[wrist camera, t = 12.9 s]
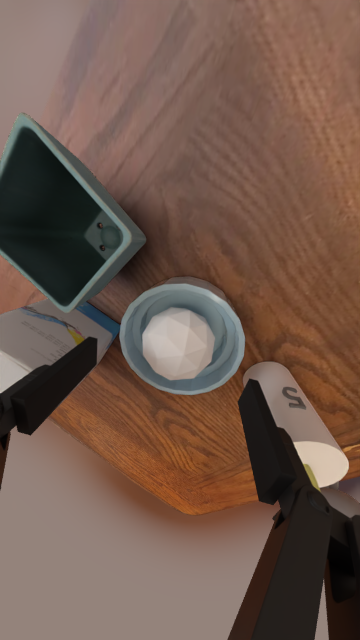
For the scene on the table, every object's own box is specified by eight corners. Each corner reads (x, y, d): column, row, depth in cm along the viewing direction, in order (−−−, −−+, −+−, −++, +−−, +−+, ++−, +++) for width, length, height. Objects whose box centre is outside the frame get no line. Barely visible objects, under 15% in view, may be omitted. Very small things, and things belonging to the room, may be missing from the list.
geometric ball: (175, 309, 25) (153, 283, 17) (228, 335, 22) (228, 319, 15) (147, 357, 24) (111, 352, 16) (198, 390, 21) (183, 403, 14)
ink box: (70, 289, 23) (-45, 324, 13) (123, 326, 24) (58, 387, 14) (51, 333, 27) (-53, 390, 16) (98, 364, 28) (31, 437, 17)
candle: (297, 363, 23) (436, 538, 9) (284, 400, 25) (376, 583, 11) (247, 357, 23) (304, 511, 10) (239, 394, 26) (275, 559, 12)
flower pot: (116, 292, 23) (65, 317, 14) (62, 235, 21) (-32, 228, 13) (165, 241, 20) (134, 237, 11) (106, 171, 18) (19, 105, 10)
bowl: (119, 297, 23) (97, 309, 18) (218, 258, 19) (222, 261, 15) (160, 376, 27) (150, 403, 22) (248, 356, 23) (258, 382, 19)
